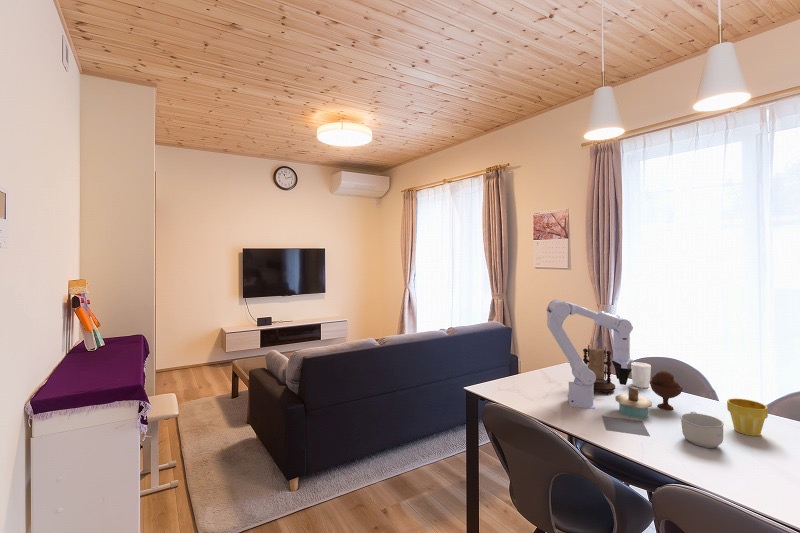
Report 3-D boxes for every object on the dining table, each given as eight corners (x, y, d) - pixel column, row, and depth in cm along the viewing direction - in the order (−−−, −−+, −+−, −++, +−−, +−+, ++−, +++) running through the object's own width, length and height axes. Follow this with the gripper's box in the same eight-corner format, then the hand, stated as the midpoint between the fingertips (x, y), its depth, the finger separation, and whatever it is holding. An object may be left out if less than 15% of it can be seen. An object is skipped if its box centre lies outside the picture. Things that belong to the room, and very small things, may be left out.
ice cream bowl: (688, 414, 146) (688, 375, 146) (655, 412, 148) (656, 373, 148) (674, 403, 156) (674, 367, 156) (644, 402, 159) (644, 366, 158)
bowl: (621, 416, 144) (621, 404, 144) (617, 407, 153) (617, 396, 153) (649, 420, 141) (650, 407, 141) (644, 410, 150) (644, 399, 149)
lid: (618, 405, 143) (618, 391, 143) (612, 394, 155) (612, 381, 154) (656, 409, 139) (656, 395, 139) (647, 398, 150) (647, 385, 150)
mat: (606, 431, 132) (606, 429, 132) (601, 416, 144) (601, 415, 144) (650, 437, 127) (650, 436, 127) (641, 421, 140) (641, 420, 139)
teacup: (726, 455, 116) (726, 429, 115) (682, 446, 121) (682, 421, 121) (718, 437, 127) (718, 413, 127) (678, 429, 133) (678, 406, 133)
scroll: (577, 391, 172) (577, 347, 172) (580, 382, 185) (580, 340, 185) (615, 396, 165) (615, 350, 164) (615, 386, 178) (615, 344, 177)
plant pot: (723, 430, 132) (723, 402, 132) (731, 422, 138) (731, 395, 138) (764, 441, 124) (764, 411, 124) (770, 433, 130) (771, 404, 130)
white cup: (654, 388, 175) (654, 366, 175) (637, 388, 175) (637, 366, 175) (643, 382, 183) (644, 362, 183) (627, 382, 183) (627, 362, 183)
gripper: (636, 353, 146) (636, 388, 146) (629, 345, 159) (629, 377, 160) (615, 351, 149) (615, 386, 149) (610, 343, 162) (610, 375, 162)
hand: (621, 381), depth 154 cm, fingers open, 7 cm apart
